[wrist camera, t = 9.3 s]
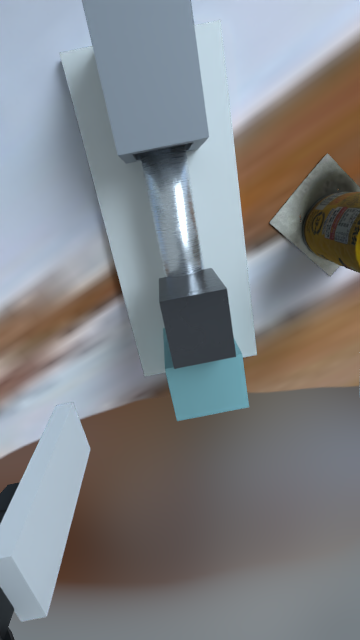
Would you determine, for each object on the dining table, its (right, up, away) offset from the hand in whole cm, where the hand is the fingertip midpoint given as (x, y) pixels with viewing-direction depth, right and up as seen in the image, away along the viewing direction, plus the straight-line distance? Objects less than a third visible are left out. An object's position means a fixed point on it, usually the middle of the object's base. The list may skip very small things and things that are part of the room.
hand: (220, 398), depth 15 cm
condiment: (+12, +13, +16) cm, 24 cm away
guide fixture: (-2, +12, +15) cm, 19 cm away
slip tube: (-2, +9, +14) cm, 17 cm away
